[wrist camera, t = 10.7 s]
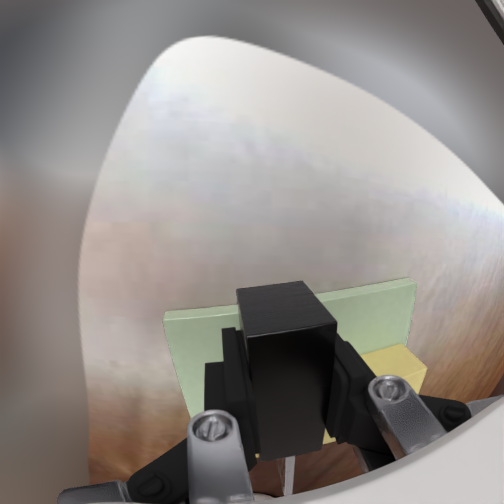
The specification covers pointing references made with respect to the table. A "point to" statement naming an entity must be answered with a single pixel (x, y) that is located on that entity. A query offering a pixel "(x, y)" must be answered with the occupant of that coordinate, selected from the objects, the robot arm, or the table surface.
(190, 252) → the table surface
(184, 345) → the butter plate
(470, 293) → the table surface
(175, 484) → the robot arm
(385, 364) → the butter
